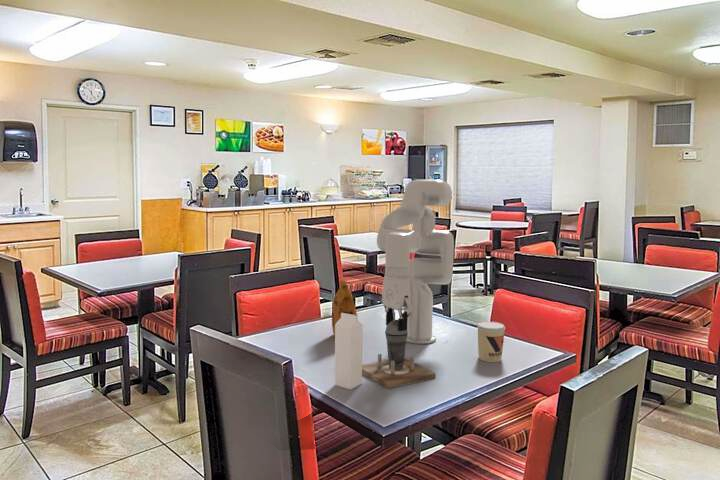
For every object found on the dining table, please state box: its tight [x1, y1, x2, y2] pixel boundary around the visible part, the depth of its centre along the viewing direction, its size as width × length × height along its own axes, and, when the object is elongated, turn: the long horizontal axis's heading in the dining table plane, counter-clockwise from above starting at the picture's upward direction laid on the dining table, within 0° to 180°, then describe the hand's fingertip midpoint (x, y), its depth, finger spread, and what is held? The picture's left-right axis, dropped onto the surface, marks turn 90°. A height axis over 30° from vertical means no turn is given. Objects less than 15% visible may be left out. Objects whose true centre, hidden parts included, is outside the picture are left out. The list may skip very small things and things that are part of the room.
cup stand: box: [362, 353, 437, 390], centre depth 182 cm, size 18×18×6 cm
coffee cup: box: [476, 321, 506, 363], centre depth 197 cm, size 9×9×12 cm
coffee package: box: [331, 279, 359, 337], centre depth 219 cm, size 10×12×22 cm
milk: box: [334, 313, 363, 390], centre depth 172 cm, size 6×6×22 cm
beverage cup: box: [384, 309, 408, 370], centre depth 181 cm, size 7×7×20 cm
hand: (396, 327), depth 181 cm, fingers closed on beverage cup, 6 cm apart
